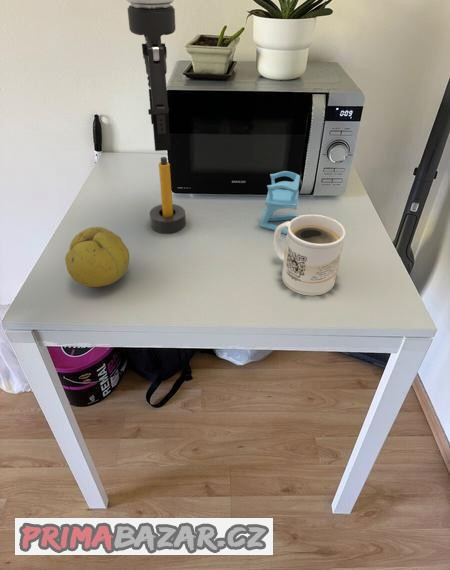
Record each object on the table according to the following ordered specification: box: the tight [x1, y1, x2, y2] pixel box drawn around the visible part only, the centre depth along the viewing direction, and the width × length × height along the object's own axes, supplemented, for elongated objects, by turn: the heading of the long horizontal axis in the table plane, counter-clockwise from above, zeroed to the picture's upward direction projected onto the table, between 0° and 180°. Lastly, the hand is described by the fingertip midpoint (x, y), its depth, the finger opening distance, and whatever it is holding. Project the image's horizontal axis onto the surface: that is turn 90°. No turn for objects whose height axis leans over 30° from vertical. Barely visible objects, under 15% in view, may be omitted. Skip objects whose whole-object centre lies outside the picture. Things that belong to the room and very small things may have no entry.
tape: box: [149, 203, 187, 235], centre depth 96 cm, size 8×8×3 cm
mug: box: [272, 213, 346, 297], centre depth 80 cm, size 10×12×11 cm
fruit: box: [64, 226, 130, 288], centre depth 78 cm, size 11×12×10 cm
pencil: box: [158, 156, 173, 217], centre depth 92 cm, size 2×2×15 cm
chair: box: [259, 170, 301, 235], centre depth 93 cm, size 8×8×12 cm
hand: (160, 135), depth 84 cm, fingers open, 13 cm apart
